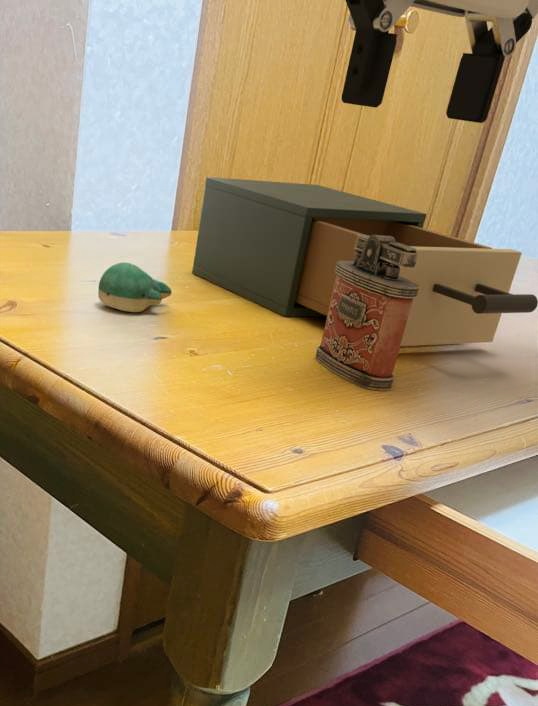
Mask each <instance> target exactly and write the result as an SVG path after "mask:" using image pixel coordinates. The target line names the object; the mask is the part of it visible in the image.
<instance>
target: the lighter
mask: <svg viewBox="0 0 538 706" xmlns="http://www.w3.org/2000/svg"><path fill="white" fill-rule="evenodd" d="M354 249H355V253H354V255H355V261H338V262H337V265H336V269H335V273H337V276H336V281H335V285H334V289H333V294H332V298H331V302H330V307H329V311H328V315H327V316H326V319H325V324H324V329H323V333H322V337H321V342H320V345H318V346H317V347H316V352H315V357H314V358H315V360H316V361H318V362H319V363H320V364H321V365H322V366H323V367H325V368H326V369H328V370H329V371H330V372H332V373H334V374H336V375H338V376H340V377H341V378H343V379H345V380H347V381H349V382H351V383H354V384H355V385H357V386H360V387H363V388H364V389H369V390H374V391H389V390H391V389H392V386H393V383H394V379H395V375H394V374H393V373H394V369H395V365H396V362H397V359H398V355H399V352H400V347H401V346H400V344H401V341H402V337H403V334H404V330H405V326H406V323H407V319H408V316H409V312H410V308H411V305H412V301H413V298H416V297H417V293H418V290H419V285H418V284H416V283H414V282H412V281H410V280H408V279H406V278H403V277H401V276H399V272H400V267H399V266H401V267H406V268H415V264H416V260H417V257H418V253H417V252H416V250H417V249H415V248H412V247H409V246H407V245H404V244H401V243H396V241H395V238H394V237H392V236H382V235H371V236H367V235H358V236H357V240H356V244H355V248H354Z"/></svg>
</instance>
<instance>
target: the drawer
mask: <svg viewBox="0 0 538 706" xmlns="http://www.w3.org/2000/svg"><path fill="white" fill-rule="evenodd" d="M358 235H367V236H371V235H382V236H392V237H394V238H395V241H396V243H401V244H404V245H407V246H409V247H412V248H415V249H417V250H416V252H417V253H418V257H417V260H416V264H415V268H406V267H401V266H399V267H400V272H399V276H401V277H403V278H406V279H408V280H410V281H412V282H414V283H416V284H418V285H419V290H418V293H417V297H416V298H413V301H412V305H411V308H410V312H409V316H408V319H407V323H406V326H405V330H404V334H403V337H402V341H401V344H400V347H416V346H418V347H419V346H439V345H457V344H459V345H460V344H480V343H493V342H494V338H495V335H496V331H497V329H498V326H499V323H500V321H501V317H502V314H524V313H532V312H534V311H535V310H536V309H537V307H538V298H537V296H536V295H534V294H530V293H529V294H523V293H522V294H518V293H517V294H513V293H510V290H511V287H512V284H513V282H514V278H515V275H516V273H517V269H518V266H519V263H520V260H521V257H522V253H523V252H522V251H519V250H516V249H511V248H493V247H491V246H487V245H484V244H480V243H477V242H473V241H469V240H466V239H463V238H458V237H456V236H452V235H448V234H445V233H441V232H438V231H434V230H431V229H427V228H424V227H423V228H420V227H417V226H413V225H410V224H406V223H403V222H399V221H380V220H359V219H338V218H316V217H312V222H311V226H310V231H309V236H308V241H307V245H306V250H305V255H304V260H303V264H302V269H301V274H300V279H299V283H298V288H297V293H296V298H295V302H296V303H299V304H301V305H303V306H306V307H308V308H310V309H312V310H315V311H317V312H319V313H321V314H324V315H326V316H325V317H327V315H328V311H329V307H330V302H331V298H332V294H333V289H334V285H335V281H336V276H337V273H335V269H336V265H337V262H338V261H355V255H354V253H355V249H354V248H355V244H356V240H357V236H358Z"/></svg>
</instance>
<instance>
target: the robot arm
mask: <svg viewBox="0 0 538 706" xmlns="http://www.w3.org/2000/svg"><path fill="white" fill-rule="evenodd" d="M345 2H346V6H347V8H348V11H349V16H348V26H349V29H350V30H352V31H355V34H354V37H353V42H352V47H351V50H350V56H349V61H348V65H347V69H346V74H345V80H344V83H343V89H342V92H341V102H342V103H343V104H347V105H355V106H362V107H369V108H375V109H377V108H378V107H380V106H381V105H382V103H383V100H384V96H385V91H386V87H387V83H388V79H389V77H390V76H389V75H390V71H391V68H392V67H391V66H392V62H393V58H394V55H395V50H396V46H397V37H398V34H397V33H391V32H390V30H391V29H392V28H393V27H394V26H395V24H396V23H397V22H398V21H399V20H400V18H401V17H403V15H404V14H405V13H406V12H407V11H408V9H409V8H410V7H411V8H416V9H420V10H424V11H429V12H434V13H438V14H443V15H447V16H452V17H457V18H464V20H465V27H466V30H467V35H468V41H469V46H470V51H471V53H468V52H462V56H461V58H460V61H459V64H458V67H457V71H456V75H455V79H454V82H453V86H452V89H451V93H450V97H449V100H448V104H447V108H446V111H445V115H446V117H447V118H448V119H450V120H458V121H464V122H471V123H478V124H483V123H485V122H486V121H487V119H488V116H489V112H490V109H491V106H492V103H493V99H494V97H495V93H496V89H497V86H498V83H499V79H500V76H501V73H502V69H503V65H504V63H505V60H506V58H509V57H511V56H512V55H513V54H514V52H515V50H516V47H517V43H518V42H519V41H520V40H522V39H523V38H524V37H525V35H526V34H527V33H528V32H529V31H530V30H531V28H532V25H533V20H534V19H535V18H536V16H537V15H538V0H345ZM488 22H489V23H490V22H491V28H489V27H488Z"/></svg>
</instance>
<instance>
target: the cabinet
mask: <svg viewBox="0 0 538 706" xmlns="http://www.w3.org/2000/svg"><path fill="white" fill-rule="evenodd" d="M202 197H203V198H202V204H201V209H200V210H201V211H200V217H199V223H198V224H199V225H198V231H197V238H196V245H195V251H194V256H193V257H194V258H193V266H192V270H191V274H193V275H195V276H198V277H199V278H201V279H204V280H206V281H207V282H210V283H213V284H215V285H217V286H219V287H221V288H223V289H225V290H227V291H229V292H231V293H234V294H236V295H238V296H240V297H242V298H244V299H246V300H248V299H249V301H251V302H253V303H255V304H257V305H259V306H261V307H262V308H266V309H268V310H270V311H272V312H274V313H276V314H279V315H281V316H283V317H284V318H288V317H289V318H291V317H297V318H298V317H327V316H326V315H324V314H321V313H319V312H317V311H315V310H312V309H310V308H308V307H306V306H303V305H301V304H299V303H296V302H295V298H296V293H297V288H298V283H299V279H300V274H301V269H302V264H303V260H304V255H305V250H306V245H307V241H308V236H309V231H310V226H311V222H312V217H316V218H338V219H359V220H380V221H399V222H403V223H406V224H410V225H413V226H417V227H420V228H424V225H425V222H426V219H427V213H425V212H420V211H418V210H413V209H411V208H406V207H402V206H398V205H396V204H395V205H394V204H391V203H387V202H383V201H381V200H376V199H372V198H369V197H364V196H361V195H356V194H353V193H349V192H346V191H342V190H338V189H334V188H330V187H327V186H323V185H319V184H312V183H311V184H309V183H299V182H298V183H296V182H283V181H270V180H256V179H255V180H253V179H239V178H226V177H225V178H224V177H214V176H213V177H210V176H207V177H205V183H204V190H203V196H202Z"/></svg>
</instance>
